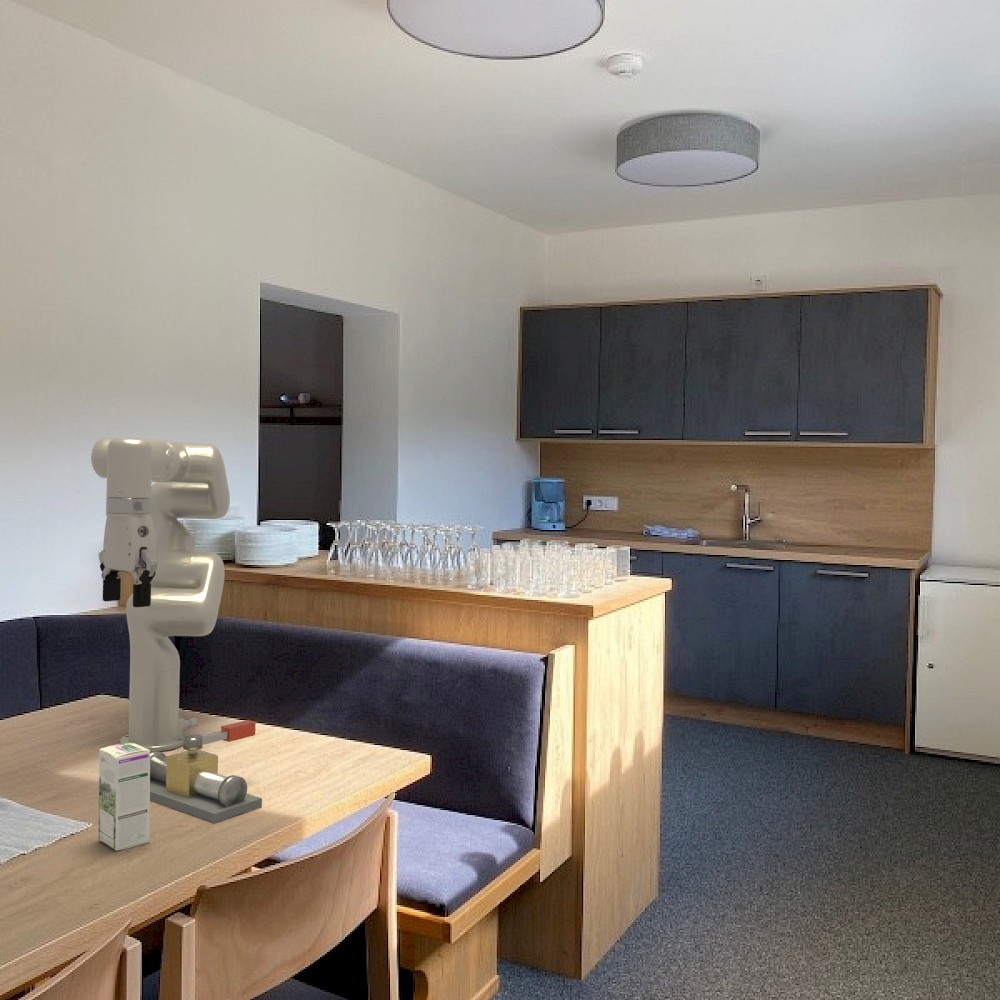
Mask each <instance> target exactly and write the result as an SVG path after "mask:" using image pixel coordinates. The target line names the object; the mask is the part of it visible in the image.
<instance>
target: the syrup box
mask: <svg viewBox="0 0 1000 1000" xmlns="http://www.w3.org/2000/svg"><path fill="white" fill-rule="evenodd" d="M98 751H99V752H98V753H99V755H98V757H99V759H98V760H99V761H98V766H99V767H98V769H99V770H98V771H99V772H98V842H100V843H102V844H103V845H105V846H107V847H109V848H110V849H111V850H114V851H122V850H127V849H130V848H134V847H138V846H141V845H144V844H147V843H150V835H151V834H150V831H151V830H150V828H151V827H150V826H151V825H150V824H151V823H150V819H151V813H150V812H151V808H150V807H151V801H150V750H149V749H146V748H144V747H142V746H140V745H137V744H135V743H133V742H131V743H122V744H120V743H116V744H112V745H109V746H106V747H105V746H104V747H103V748H102V747H101V748H99V750H98Z"/></svg>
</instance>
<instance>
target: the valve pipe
mask: <svg viewBox="0 0 1000 1000" xmlns="http://www.w3.org/2000/svg"><path fill="white" fill-rule="evenodd" d="M218 767H219V754H215V753H211V752H208V751H205V750H201V749H199V750H198V751H197V755H195V756H189V755H188V750H184V751H182V752H177V753H173V754H169V755H166V754H165V753H163V752H162V751H152V752H150V780H152V779H155V780H158V781H161V782H164V783H166V791H168V792H171V793H174V794H177V795H180V796H183V797H186V798H192V797H195V796H198V795H203V796H206V797H209V798H212V799H215V800H218V801H219V803H220V804H221V805H222V806H225V807H229V806H232V805H235V804H238V803H241V802H243V801H244V799H245V797H246V794H248V784H247V780H246V779H244V777H242V776H239V775H233V774H231V775H229V776H226V775H223V774H219V773H218V771H219V768H218Z"/></svg>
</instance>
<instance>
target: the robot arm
mask: <svg viewBox="0 0 1000 1000" xmlns="http://www.w3.org/2000/svg"><path fill="white" fill-rule="evenodd" d="M90 460H91V461H90V462H91V465H92V468H93V471H94V473H95V474H96V475H97V476H98V477H100V478H101V479H106V497H105V498H106V502H105V516H106V519H105V526H104V531H103V532H104V536H103V544H102V545H103V547H102V550H101V551H100V552H98V560H99V564H100V565H99V569H100V571H101V578H102V601H103V602H114V601H116V602H118V601H120V600H121V587H122V585H121V583H122V582H121V581H122V580H121V579H122V578H120V577H119V576H120V574H121V573H127V574H129V573H131V575H132V577H133V580H134V583H135V584H133V585H132V594H130V595H129V597H128V599H127V601H126V607H125V608H126V609H125V614H126V621H127V628H128V634H129V635H128V636H129V650H130V651H129V656H130V657H129V658H130V659H129V662H130V663H129V697H128V698H129V704H128V734H126V735H124V736H122V737H121V738H120V739H119V741H120V742H119V744H122V743H131V742H133V743H135V744H137V745H140V746H142V747H144V748H146V749H149V750H150V752H152V751H158V752H164V751H170V750H174V749H178V748H180V747H183V737H184V736H186V735H185V734H184V733H183V732H185V731H186V730H187V729H191V728H196V727H197V726H198V725H199V721H198V719H197V717H191V718H187V719H184V718H185V717H179V715H180V714H179V713H180V711H179V710H180V708H179V707H180V673H181V672H180V671H181V670H180V669H181V660H180V654H179V651H178V649H177V648H176V646H175V644H174V643H173V642H172V640H171V639H170V638H169V637H175V636H176V637H205V636H207V635H210V634H211V633H212V632H213V630H214V628H215V626H216V623H217V619H218V614H219V608H220V605H221V599H222V595H223V589H224V584H225V576H226V575H225V573H226V572H225V564H224V560H223V559H222V557H221V556H220V555H219V554H216V553H215V552H212V551H201V550H198V551H197V550H195V549H196V541H195V540H196V539H195V538H194V536H193V535H192V533H191V531H189V529H188V527H186V526H185V525H184V524H183V523H182V522H180V521H179V520H178V519H189V520H191V519H193V520H219V519H221V518H222V519H223V517H225V516H226V515H227V514H228V511H229V508H230V504H231V503H230V502H231V500H230V499H231V498H230V497H231V496H230V490H229V485H228V478H227V473H226V472H227V471H226V468H225V463H224V459H223V456H222V454H221V451H220V450H219V449H218V448H217V446H215V444H211V443H204V442H203V443H202V442H201V443H197V442H196V443H195V442H193V443H192V442H177V441H175V442H174V441H170V440H165V439H157V438H156V439H155V438H134V437H133V438H132V437H102V438H100V439H98V440H97V441H95V444H94V445H93V447H92V450H91V453H90ZM152 483H153V484H152Z"/></svg>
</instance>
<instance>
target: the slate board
mask: <svg viewBox="0 0 1000 1000" xmlns="http://www.w3.org/2000/svg"><path fill="white" fill-rule="evenodd" d="M150 802H153V803H157V804H159V805H162V806H165V807H168V808H170V809H174V810H177V811H179V812H183V813H185V814H187V815H191V816H192V817H193V816H194V817H195V818H196V817H197V818H199V819H202V820H205V821H207V822H210V823H213V824H216V823H218V822H221V821H225V820H228V819H231V818H233V816H234V817H237V816H240V815H242V813H243V814H245V812H246V813H248V811H249V812H251V811H253V810H257V809H260V808H263V807H262V806H263V798H262V797H259V796H256V795H253V794H250V793H247V794H246V797H245V799H244V801H243V802H241V803H238V804H235V805H232V806H229V807H225V806H222V805H221V804H220V803H219V801H218V800H215V799H212V798H209V797H206V796H203V795H198V796H195V797H192V798H186V797H183V796H180V795H177V794H174V793H171V792H168V791H166V783H164V782H161V781H158V780H155V779H152V780H150ZM259 807H260V808H259ZM256 808H257V809H256ZM250 810H251V811H250ZM239 814H240V815H239ZM236 815H237V816H236ZM230 817H231V818H230Z"/></svg>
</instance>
